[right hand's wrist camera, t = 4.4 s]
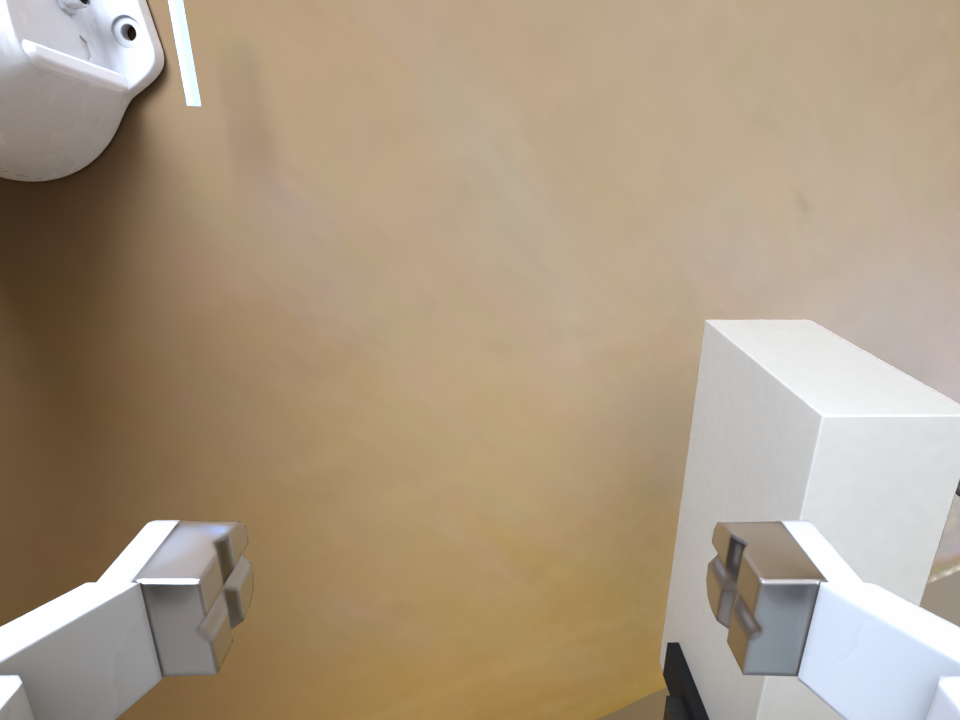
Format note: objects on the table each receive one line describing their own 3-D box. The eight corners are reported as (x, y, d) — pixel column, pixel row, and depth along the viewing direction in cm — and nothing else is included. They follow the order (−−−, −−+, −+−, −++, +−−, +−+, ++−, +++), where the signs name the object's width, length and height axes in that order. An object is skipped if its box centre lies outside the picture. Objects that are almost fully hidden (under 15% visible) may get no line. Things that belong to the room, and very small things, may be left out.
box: (705, 319, 35) (822, 415, 23) (810, 319, 35) (981, 415, 23) (658, 661, 43) (726, 856, 32) (742, 660, 44) (840, 856, 32)
